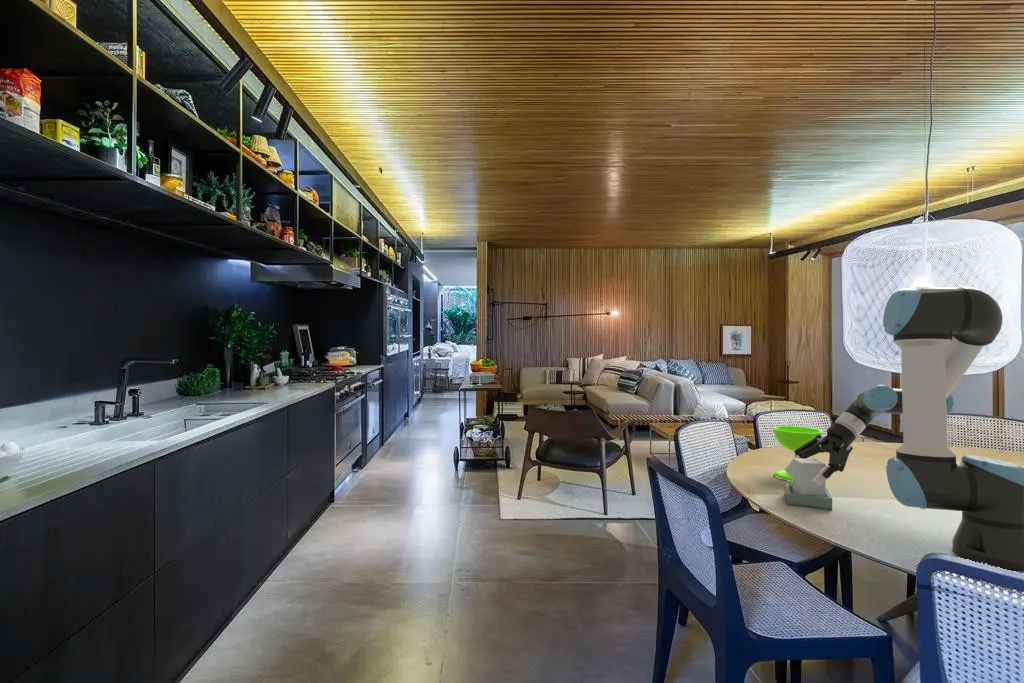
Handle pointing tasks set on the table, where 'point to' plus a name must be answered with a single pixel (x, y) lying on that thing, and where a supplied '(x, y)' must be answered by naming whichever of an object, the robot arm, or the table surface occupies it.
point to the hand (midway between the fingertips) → (800, 478)
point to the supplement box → (807, 477)
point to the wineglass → (793, 441)
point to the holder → (808, 499)
